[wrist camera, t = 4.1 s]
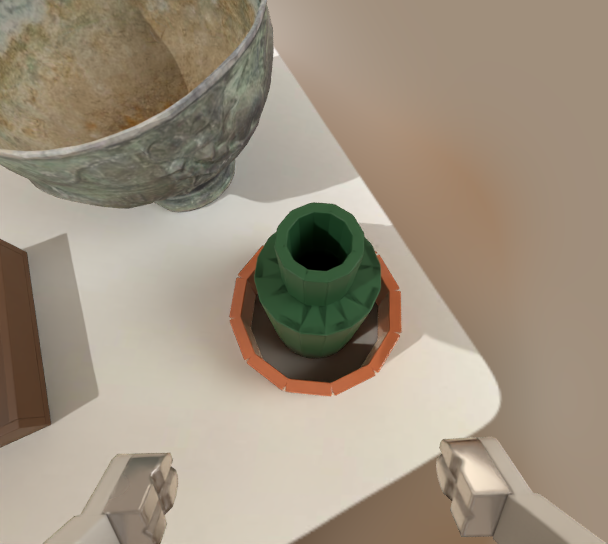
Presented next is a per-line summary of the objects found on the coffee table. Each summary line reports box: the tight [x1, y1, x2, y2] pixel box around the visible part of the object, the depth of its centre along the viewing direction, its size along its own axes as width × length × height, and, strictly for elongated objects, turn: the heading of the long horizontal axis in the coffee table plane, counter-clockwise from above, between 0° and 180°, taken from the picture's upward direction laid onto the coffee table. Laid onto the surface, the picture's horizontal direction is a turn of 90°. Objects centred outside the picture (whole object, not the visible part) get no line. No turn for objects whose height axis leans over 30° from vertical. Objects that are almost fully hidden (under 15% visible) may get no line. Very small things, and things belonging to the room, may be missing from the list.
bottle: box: [254, 203, 381, 358], centre depth 19 cm, size 6×6×14 cm
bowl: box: [0, 0, 273, 212], centre depth 24 cm, size 20×19×15 cm
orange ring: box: [229, 243, 401, 396], centre depth 23 cm, size 12×12×4 cm
